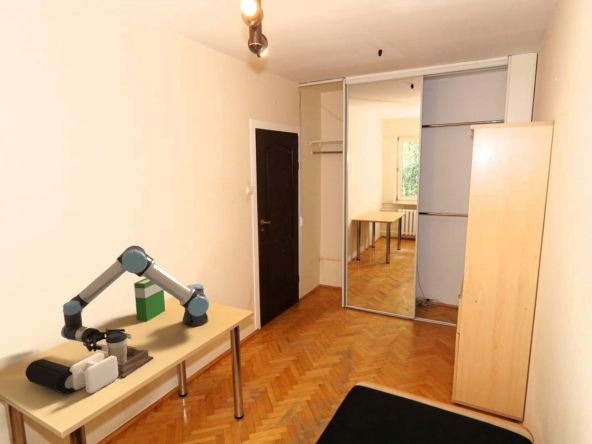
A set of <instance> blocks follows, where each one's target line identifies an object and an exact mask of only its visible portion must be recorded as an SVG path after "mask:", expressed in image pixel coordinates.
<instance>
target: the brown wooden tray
mask: <svg viewBox="0 0 592 444" xmlns="http://www.w3.org/2000/svg"><path fill="white" fill-rule="evenodd" d="M152 360H154V356H152V355H151V356H150V355H149V350H148V349H144V348H141V347H136V346H131V345H127V354H126V362H124V363H121V362H117V366H118V377H117V378H122V379H125V378H126V377H127V376H130V375H131V374H132V373H134V372H136V371H137V370H138V369H140V368H142V367H144V365H146V364H147V363H149V362H151V361H152Z"/></svg>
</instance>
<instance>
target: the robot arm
mask: <svg viewBox="0 0 592 444" xmlns="http://www.w3.org/2000/svg"><path fill="white" fill-rule="evenodd" d="M126 272H128V273H130V274H134V275H135V276H138V277H139V278H142V277H143V278H144V279H145V278H147V279H148V280H150V281H151V282H153V283H154V284H156V285H157V286H159V287H160V288H162V289H163V290H164V292H166V293H167V294H168V295H171V296H172V297H173V298H175V299H176V300H178V301H179V305H180V306H181V307H183V308H184V311H183V312H184V313H183V315H182V325H183V326H184V327H191V328H194V327H201V326H203V325H206V324H207V323H208V322H209V316H208V313H207V312H208V311H209V307H210V303H209V299H208V298H207V296H206V295H205V291H204V289H205V288H204V285H203V284H200V283H196V284H190V285H189V284H188V285H186V284H184V283H183V282H181V281H180V280H179V279H177V278H175V277H174V276H173V275H172V274H170V273H168V271H166V270H165V269H163V268H162V267H160V266H159V265H158V264H156V263H155V259H154V258H153V257H151V256H150V255H149V254H148V253H146V250H145V249H144V248H142V246H139V245H131V246H128V247H126V249H125V250H124V251H123V252H122V253H121V254H120V255H119V256H118V257H117V258H116V261H115V262H113V263H112V264H111V265H110V266H109V267H108V268H107V269H105V270H104V271H103V272H102V273H101V274H99V276H97V277H96V278H95V279H93V281H92V282H91V283H89V284H88V285H87V286H85V288H84V289H82V290H81V291H80V292H79V293H78V294H76V295H75V296H74V297H73V296H72V298H71V299H70V300H69V301H67V302H65V303H63V305H62V308H63V309H62V313H63V321H64V325H63V326H62V328H61V331H60V334H61V336H62V337H63V338H64V339H66V340H68V341H69V340H70V341H75V342H78V343H79V342H80V343H82V346H84V347H85V348H86V349H87V351H88V352H89V353H90V352H92V351H93V352H97V351H103V352H106V353H108V351H109V350H108V345H107V344H102V343H100V342H102V341H103V340H106V338H107V337H108V335H109V334H111V333H113V332H124V333H125V334H126V335H127V338H126V339H127V340H128V339H129V340H132V339H133V338H132V337H133V335H132V333H131V332H127V331H126V329H125V328H116V329H115V328H114V329H110V328H107V329H106V328H105V329H104V331H100V330H99V329H98V328H94V327H89V326H84V325H83V320H82V318H83V317H82V313H83V311H84V309H85V308H86V307H88V306H89V304H90V303H91V302H92V301H94V300H95V299H96V298H98V296H100V294H102V293H103V292H104V291H105V290H106V289H107V288H109V287H110V286H111V285H113V284H114V283H115V282H116V281H117V280H118V279H119V278H120V277H121V276H122V275H123V274H124V273H126ZM98 342H99V343H98Z"/></svg>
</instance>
